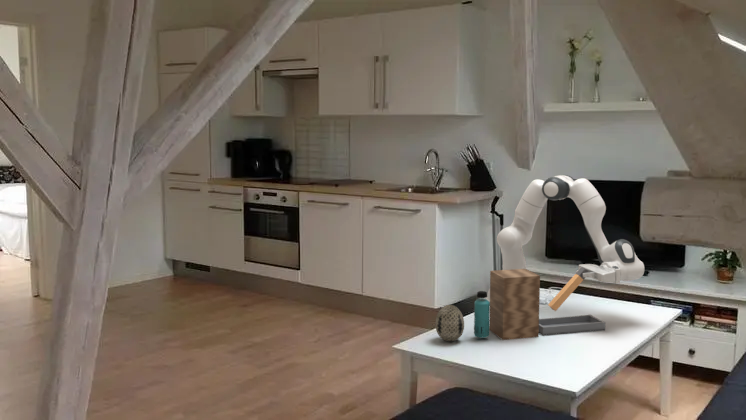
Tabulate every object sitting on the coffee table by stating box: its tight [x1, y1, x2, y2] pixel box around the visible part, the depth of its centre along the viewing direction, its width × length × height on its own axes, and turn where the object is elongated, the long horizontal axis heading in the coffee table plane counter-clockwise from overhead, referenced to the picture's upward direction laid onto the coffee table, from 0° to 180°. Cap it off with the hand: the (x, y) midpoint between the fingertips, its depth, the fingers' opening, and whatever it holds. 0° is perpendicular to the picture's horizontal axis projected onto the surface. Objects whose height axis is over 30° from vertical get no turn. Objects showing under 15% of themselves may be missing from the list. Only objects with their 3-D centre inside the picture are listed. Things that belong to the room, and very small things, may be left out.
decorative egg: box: [435, 304, 465, 342], centre depth 288 cm, size 12×12×15 cm
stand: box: [489, 268, 541, 341], centre depth 297 cm, size 16×14×26 cm
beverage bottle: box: [473, 290, 490, 338], centre depth 290 cm, size 6×7×20 cm
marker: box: [547, 267, 589, 312], centre depth 302 cm, size 22×3×3 cm
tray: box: [539, 314, 606, 337], centre depth 304 cm, size 29×12×4 cm, turn 103°
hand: (579, 273), depth 302 cm, fingers closed on marker, 3 cm apart
